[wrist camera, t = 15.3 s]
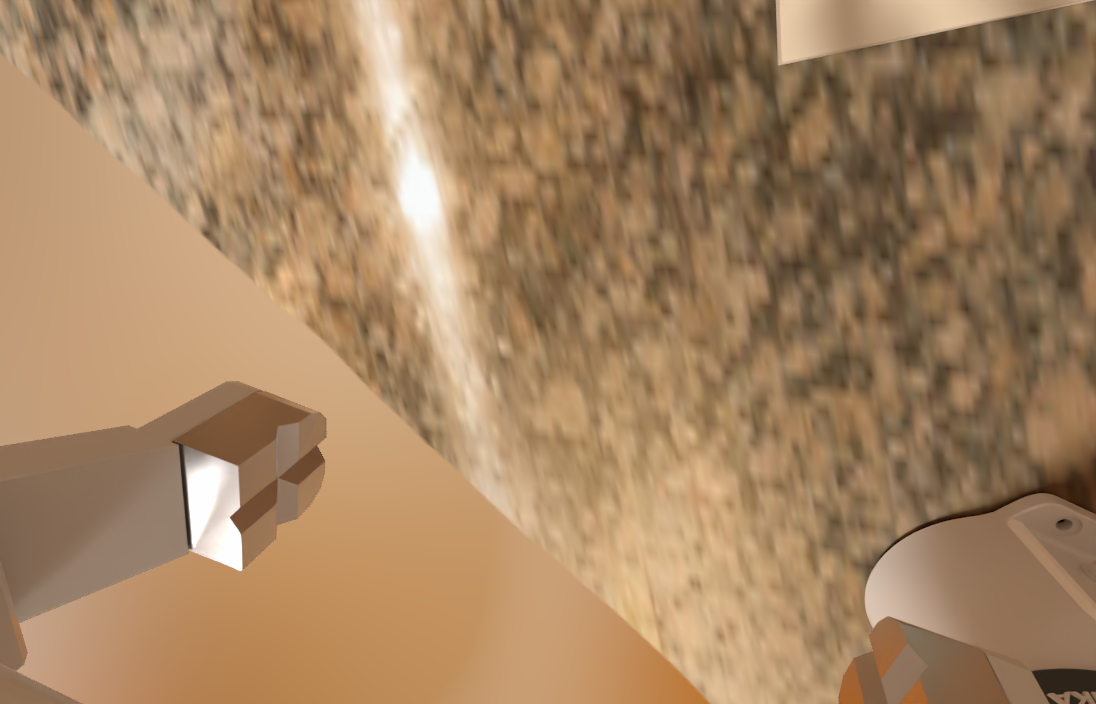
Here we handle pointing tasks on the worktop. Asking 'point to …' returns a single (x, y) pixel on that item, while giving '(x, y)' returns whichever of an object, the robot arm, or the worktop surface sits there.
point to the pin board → (883, 21)
